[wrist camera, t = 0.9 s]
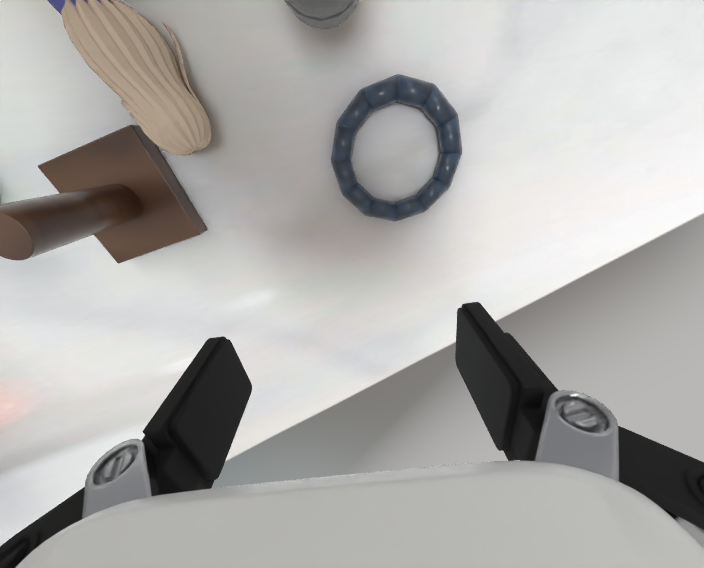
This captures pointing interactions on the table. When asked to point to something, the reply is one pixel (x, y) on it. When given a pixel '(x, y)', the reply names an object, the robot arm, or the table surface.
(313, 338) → the table surface
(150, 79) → the figurine
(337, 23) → the light bulb
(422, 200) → the segmented blue ring
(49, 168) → the stand
